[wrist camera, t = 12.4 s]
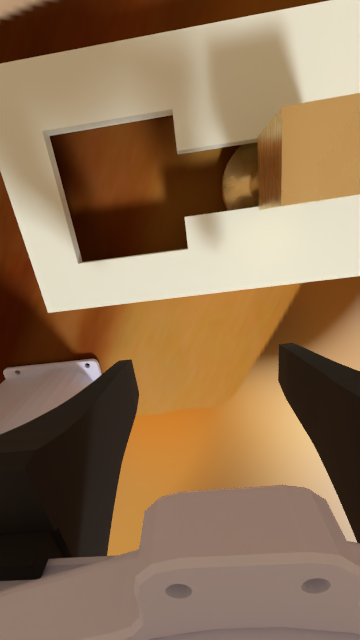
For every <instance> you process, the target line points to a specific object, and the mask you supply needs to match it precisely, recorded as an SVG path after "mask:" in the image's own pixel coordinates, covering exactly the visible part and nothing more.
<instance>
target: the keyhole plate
mask: <svg viewBox="0 0 360 640" xmlns="http://www.w3.org/2000/svg"><path fill="white" fill-rule="evenodd" d="M356 93H360V0H330V1H324V2H319V3H314V4H309V5H303V6H298V7H293V8H288V9H283V10H277V11H272V12H267V13H262V14H256V15H251V16H246V17H241V18H236V19H230V20H225V21H220V22H215V23H209V24H204V25H199V26H194V27H189V28H183V29H178V30H173V31H168V32H163V33H157V34H152V35H147V36H142V37H136V38H131V39H126V40H121V41H116V42H110V43H105V44H100V45H95V46H89V47H84V48H79V49H74V50H69V51H63V52H58V53H53V54H48V55H42V56H37V57H32V58H27V59H22V60H16V61H11V62H6V63H1V64H0V171H1V174H2V177H3V180H4V183H5V186H6V189H7V192H8V195H9V198H10V201H11V204H12V207H13V210H14V213H15V216H16V219H17V222H18V225H19V227H20V230H21V233H22V236H23V239H24V242H25V245H26V248H27V251H28V254H29V257H30V260H31V263H32V266H33V269H34V272H35V275H36V278H37V281H38V284H39V287H40V290H41V293H42V296H43V299H44V302H45V305H46V308H47V311H48V313H50V312H59V311H67V310H76V309H84V308H92V307H101V306H109V305H118V304H126V303H135V302H143V301H151V300H160V299H168V298H177V297H185V296H194V295H202V294H210V293H219V292H227V291H236V290H244V289H253V288H261V287H269V286H278V285H286V284H295V283H303V282H312V281H320V280H328V279H337V278H345V277H354V276H360V195H354V196H348V197H342V198H336V199H330V200H325V201H318V202H311V203H305V204H298V205H291V206H285V207H278V208H271V209H264V210H259V207H252V208H245V209H238V210H231V211H223V212H216V213H209V214H202V215H195V216H188V217H185V226H186V235H187V244H188V248H186V249H178V250H171V251H163V252H156V253H148V254H141V255H133V256H125V257H118V258H110V259H103V260H95V261H87V262H82V258H81V254H80V250H79V247H78V243H77V239H76V235H75V231H74V228H73V224H72V220H71V216H70V212H69V209H68V205H67V201H66V197H65V193H64V190H63V186H62V182H61V178H60V174H59V171H58V167H57V163H56V159H55V156H54V152H53V148H52V144H51V140H50V137H49V136H52V135H58V134H64V133H70V132H76V131H82V130H87V129H93V128H99V127H105V126H111V125H117V124H123V123H129V122H135V121H141V120H147V119H153V118H159V117H165V116H171V115H173V120H174V129H175V138H176V147H177V155H178V154H185V153H191V152H198V151H204V150H210V149H217V148H223V147H229V146H236V145H242V144H248V143H255V142H258V136H259V134H260V133H261V132H262V131H263V129H264V128H265V127H266V126H267V125H268V123H269V122H270V121H271V120H272V118H273V117H274V116H275V115H276V113H277V112H278V111H279V110H280V109H281V107H282V106H288V105H294V104H299V103H305V102H310V101H316V100H322V99H327V98H333V97H339V96H344V95H350V94H356Z"/></svg>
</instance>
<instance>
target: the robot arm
mask: <svg viewBox="0 0 360 640" xmlns="http://www.w3.org/2000/svg"><path fill="white" fill-rule="evenodd" d="M86 363H88V364H89V365H90V366H88V365H87V364H86ZM18 371H20V373H19V372H18ZM3 374H4V376H5V379H6V380H4V381H3V382H2V383H1V384H0V640H360V371H357V370H354V369H352V368H349V367H347V366H344V365H342V364H339V363H337V362H334V361H332V360H330V359H327V358H325V357H323V356H321V355H319V354H316V353H314V352H312V351H310V350H308V349H306V348H303V347H301V346H299V345H296V344H294V343H288V344H279V377H278V378H279V379H278V380H279V383H280V385H281V388H282V390H283V393H284V395H285V397H286V399H287V401H288V403H289V404H290V406H291V408H292V409H293V411H294V412H295V414H296V416H297V417H298V419H299V421H300V422H301V424H302V426H303V427H304V429H305V431H306V432H307V434H308V435H309V437H310V439H311V440H312V442H313V444H314V446H315V448H316V450H317V452H318V454H319V456H320V458H321V460H322V462H323V464H324V466H325V468H326V471H327V473H328V475H329V477H330V479H331V482H332V484H333V486H334V488H335V490H336V492H337V494H338V497H339V499H340V502H341V504H342V506H343V509H344V511H345V514H346V516H347V518H348V520H349V523H350V525H351V528H352V530H353V532H354V535H355V537H356V540H357V543H355V542H349V541H346V539H345V537H344V535H343V533H342V531H341V529H340V527H339V525H338V523H337V521H336V519H335V517H334V515H333V513H332V511H331V509H330V508H329V505H328V504H327V501H326V500H325V499H324V498H322V497H320V496H319V495H317V494H316V493H314V492H313V491H311V490H310V489H307V488H304V487H296V486H286V485H275V486H260V487H245V488H230V489H216V490H215V489H214V490H199V491H184V492H178V493H174V494H171V495H166V496H162V497H161V498H159V499H158V500H157V501H155V502H154V503H153V504H152V505H151V506H150V507H149V508H148V509H147V510H145V513H144V520H143V527H142V534H141V541H140V548H139V549H138V550H135V551H131V552H128V553H125V554H121V555H116V556H107V551H108V542H109V535H110V529H111V521H112V514H113V509H114V503H115V497H116V491H117V485H118V479H119V474H120V469H121V464H122V460H123V456H124V452H125V449H126V446H127V442H128V439H129V435H130V432H131V429H132V425H133V422H134V419H135V415H136V411H137V405H138V398H139V391H138V386H137V382H136V378H135V373H134V369H133V364H132V360H122V361H118V362H117V363H116V364H114V365H113V366H112V367H110V368H109V369H108V370H107V371H106V372H104V373H103V374H102V373H101V370H100V366H99V363H98V361H97V360H96V359H85V360H75V361H65V362H56V363H46V364H37V365H27V366H17V367H8V368H6V369H5V370H4V371H3Z"/></svg>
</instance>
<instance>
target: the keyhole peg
mask: <svg viewBox="0 0 360 640" xmlns="http://www.w3.org/2000/svg"><path fill="white" fill-rule="evenodd" d="M354 195H360V93H356V94H350V95H344V96H339V97H333V98H327V99H322V100H316V101H310V102H305V103H299V104H294V105H288V106H282V107H281V109H280V110H279V111H278V112H277V113H276V115H275V116H274V117H273V118H272V120H271V121H270V122H269V123H268V125H267V126H266V127H265V128H264V129H263V131H262V132H261V133H260V134H259V136H258V142H255V143H248V144H242V145H241V146H240V147H239V148H238V149H237V150H236V151H235V153H234V154H233V155H232V157H231V158H230V160H229V162H228V164H227V166H226V168H225V171H224V174H223V178H222V198H223V202H224V205H225V207H226V209H227V211H231V210H238V209H245V208H252V207H259V210H264V209H271V208H278V207H285V206H291V205H298V204H305V203H311V202H318V201H325V200H330V199H336V198H342V197H348V196H354Z"/></svg>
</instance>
